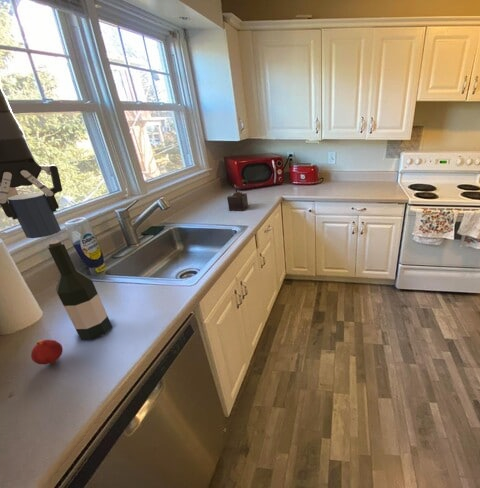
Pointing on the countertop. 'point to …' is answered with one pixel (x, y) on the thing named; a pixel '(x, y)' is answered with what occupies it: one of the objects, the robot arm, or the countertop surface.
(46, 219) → the cup
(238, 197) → the manual coffee grinder
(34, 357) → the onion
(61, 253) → the wine bottle
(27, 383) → the countertop surface
